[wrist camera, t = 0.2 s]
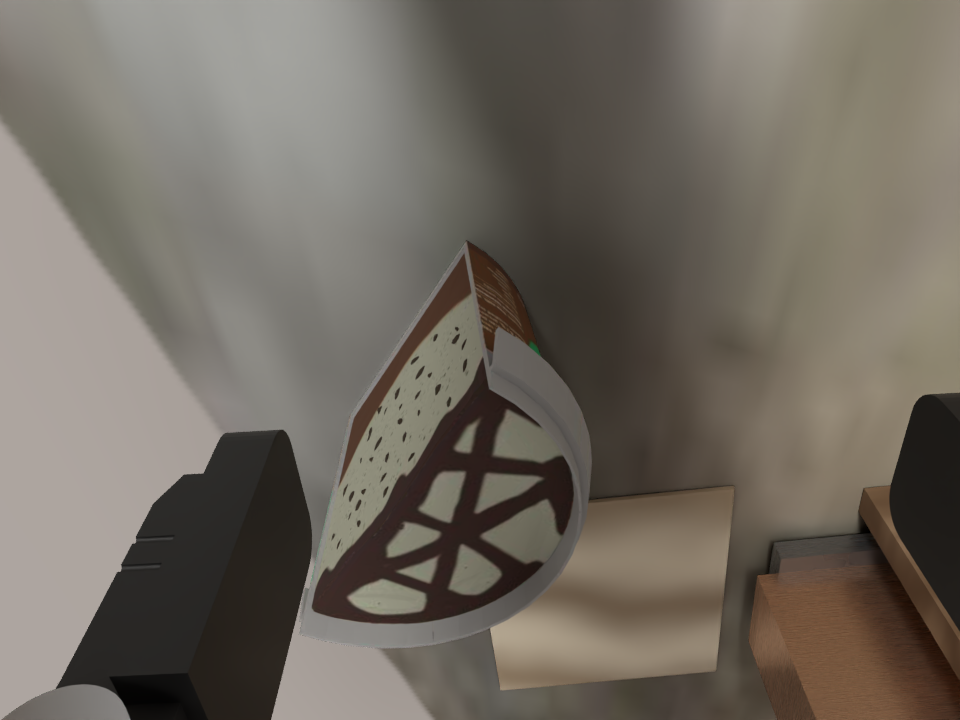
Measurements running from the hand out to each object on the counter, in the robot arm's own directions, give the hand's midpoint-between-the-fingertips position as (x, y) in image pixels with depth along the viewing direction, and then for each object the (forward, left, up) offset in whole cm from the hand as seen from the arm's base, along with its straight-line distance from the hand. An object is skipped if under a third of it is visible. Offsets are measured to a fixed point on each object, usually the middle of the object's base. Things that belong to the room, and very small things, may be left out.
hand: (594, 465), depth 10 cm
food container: (+10, -3, -18) cm, 21 cm away
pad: (+25, +2, -18) cm, 31 cm away
